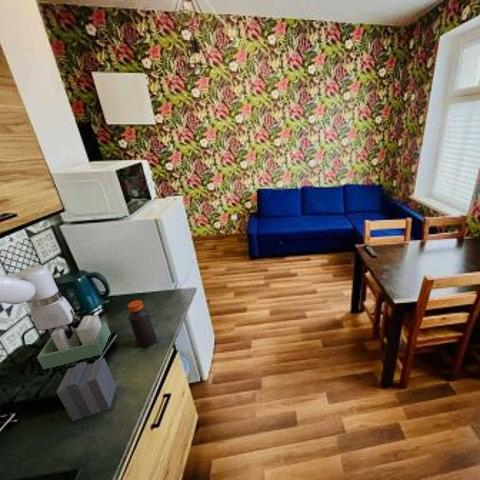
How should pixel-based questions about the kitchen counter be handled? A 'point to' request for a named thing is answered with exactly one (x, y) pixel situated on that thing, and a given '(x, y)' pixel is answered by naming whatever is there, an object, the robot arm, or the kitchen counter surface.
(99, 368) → the grey books
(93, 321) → the white books
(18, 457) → the kitchen counter surface
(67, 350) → the crate
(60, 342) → the white book
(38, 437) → the kitchen counter surface
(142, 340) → the bottle
